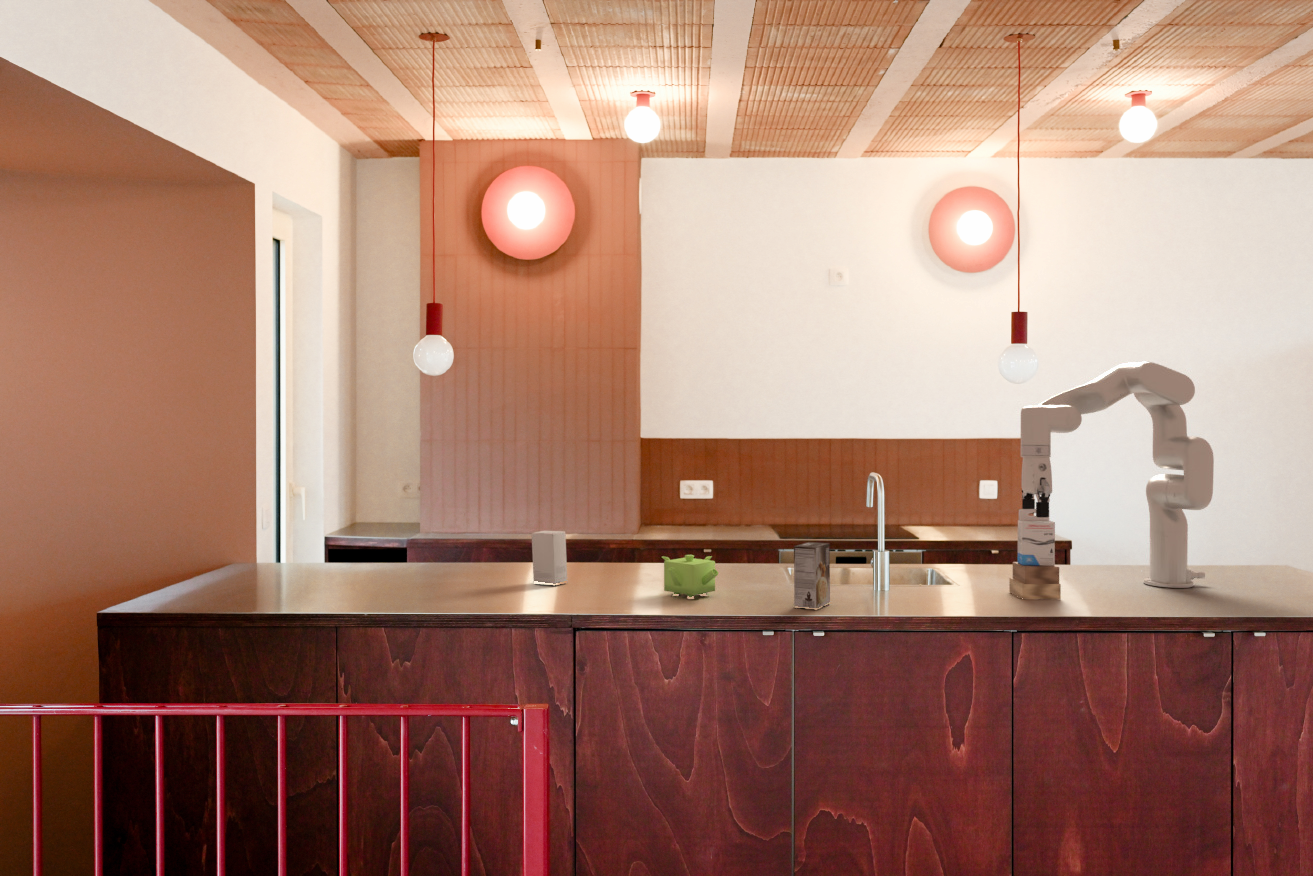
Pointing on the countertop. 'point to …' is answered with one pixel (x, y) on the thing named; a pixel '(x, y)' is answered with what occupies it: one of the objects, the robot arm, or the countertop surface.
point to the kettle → (689, 575)
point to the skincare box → (549, 556)
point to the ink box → (1035, 539)
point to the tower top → (1035, 574)
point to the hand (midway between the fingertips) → (1035, 515)
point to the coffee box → (811, 574)
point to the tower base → (1034, 590)
